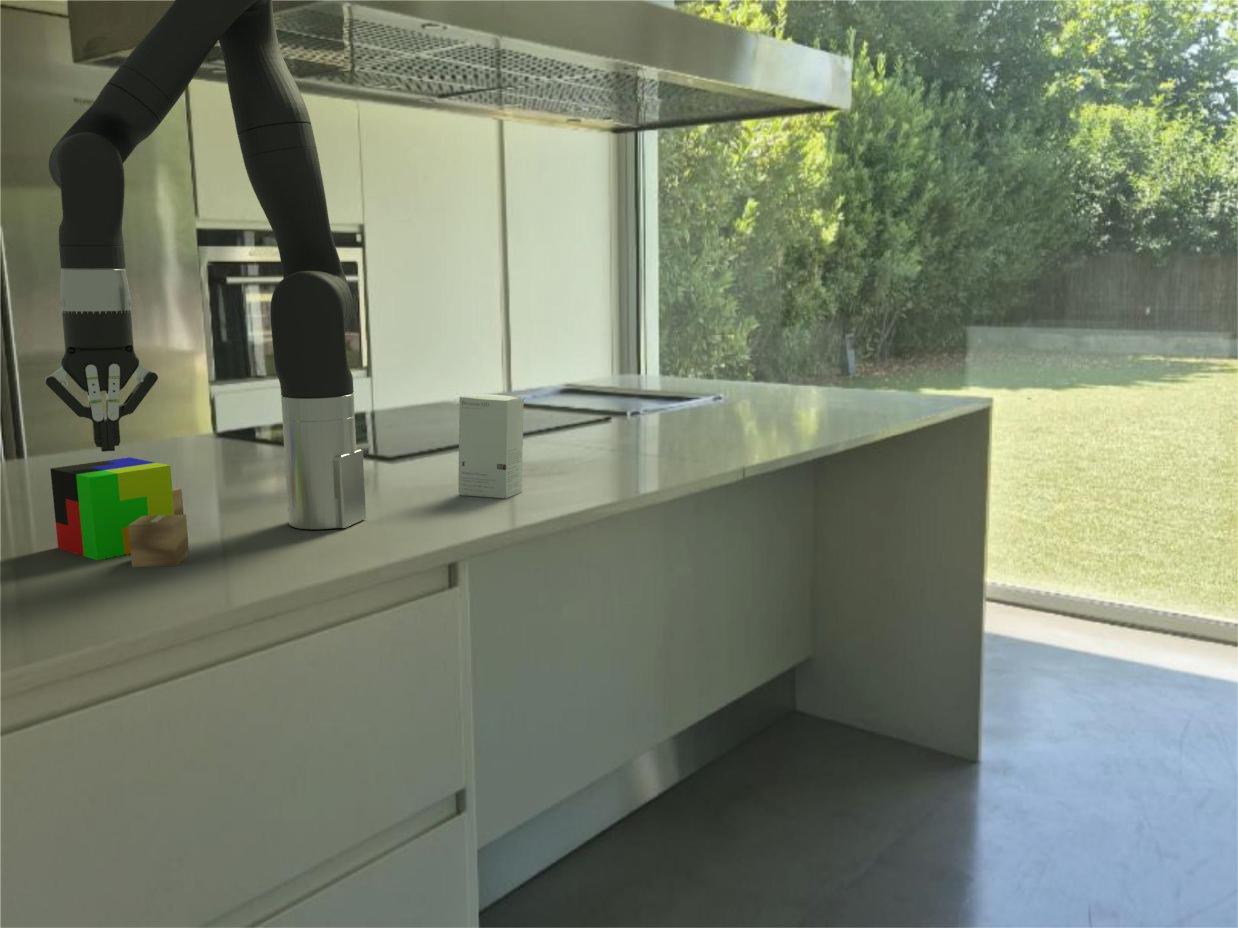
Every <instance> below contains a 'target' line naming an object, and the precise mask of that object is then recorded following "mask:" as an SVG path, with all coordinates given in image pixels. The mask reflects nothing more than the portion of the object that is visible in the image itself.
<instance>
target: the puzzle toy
mask: <svg viewBox="0 0 1238 928" xmlns="http://www.w3.org/2000/svg"><path fill="white" fill-rule="evenodd" d="M171 472H172V469H171V465H169V464H165V463H160V462H155V461H150V460H144V459H139V458H136V457H130V456H129V457H124V458H123V457H122V458H115V459H109V460H107V459H106V460H102V461H95V462H88V463H81V464H74V465H73V464H72V465H66V466H64V465H63V466H60V467H59V466H58V467H52V468H50V478H51V479H50V480H51V488H52V499H53V501H52V502H53V509H54V517H55V519H54V521H55V531H56V539H57V541H56V542H57V548H58V549H61V550H64V551H68V552H70V553H73V554H77V555H79V556H83V557H86V558H89V559H92V560H94V561H101V560H106V559H105V558H107V559H110V558H115V557H114V556H116V557H119V556H120V555H121V556H124V555H123V554H126V555H130V554H129V553H131V550H130V539H129V528H128V525H129V524H131V523H133V522H134V521H136V520H137V519H139V518H140V517H142V516H153V515H174V506H173V494H172V488H173V485H172V473H171Z"/></svg>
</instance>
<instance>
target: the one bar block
mask: <svg viewBox="0 0 1238 928" xmlns="http://www.w3.org/2000/svg"><path fill="white" fill-rule="evenodd" d="M187 525H188V523H187V514H184V515H153V516H142V517H140V518H139V519H137V520H136V521H134V522H133V523H131V524H129V525H128V528H129V539H130V550H131V554H130V559H131V561H130V562H131V567H132V568H140V567H141V568H142V567H144V568H146V567H147V568H149V567H172V566H174V567H175V566H178V565H179V564H181V562H182V561H184V560H185V559H186V558H187V557H189V555H190V550H189V537H188V535H189V534H188V526H187ZM184 558H185V559H184Z"/></svg>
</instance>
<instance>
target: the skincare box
mask: <svg viewBox="0 0 1238 928" xmlns="http://www.w3.org/2000/svg"><path fill="white" fill-rule="evenodd" d="M524 400H525V398H524V397H522V396H513V395H501V394H487V393H486V394H485V393H475V394H474V393H473V394H467V395H461V396H459V409H458V410H459V412H458V413H459V418H458V419H459V420H458V425H459V426H458V427H459V428H458V495H459V496H463V497H464V496H468V497H477V498H478V497H479V498H480V497H481V498H496V499H509V498H510V497H514V496H516V495H519V494H521V493H522V492H523V456H524V454H523V453H524V452H523V446H524Z"/></svg>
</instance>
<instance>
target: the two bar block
mask: <svg viewBox="0 0 1238 928" xmlns="http://www.w3.org/2000/svg"><path fill="white" fill-rule="evenodd" d="M182 490H183V489H182V488H177V487H172V494H173V506H174V515H185V513H184V505H183V503H184V502H183V491H182Z"/></svg>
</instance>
